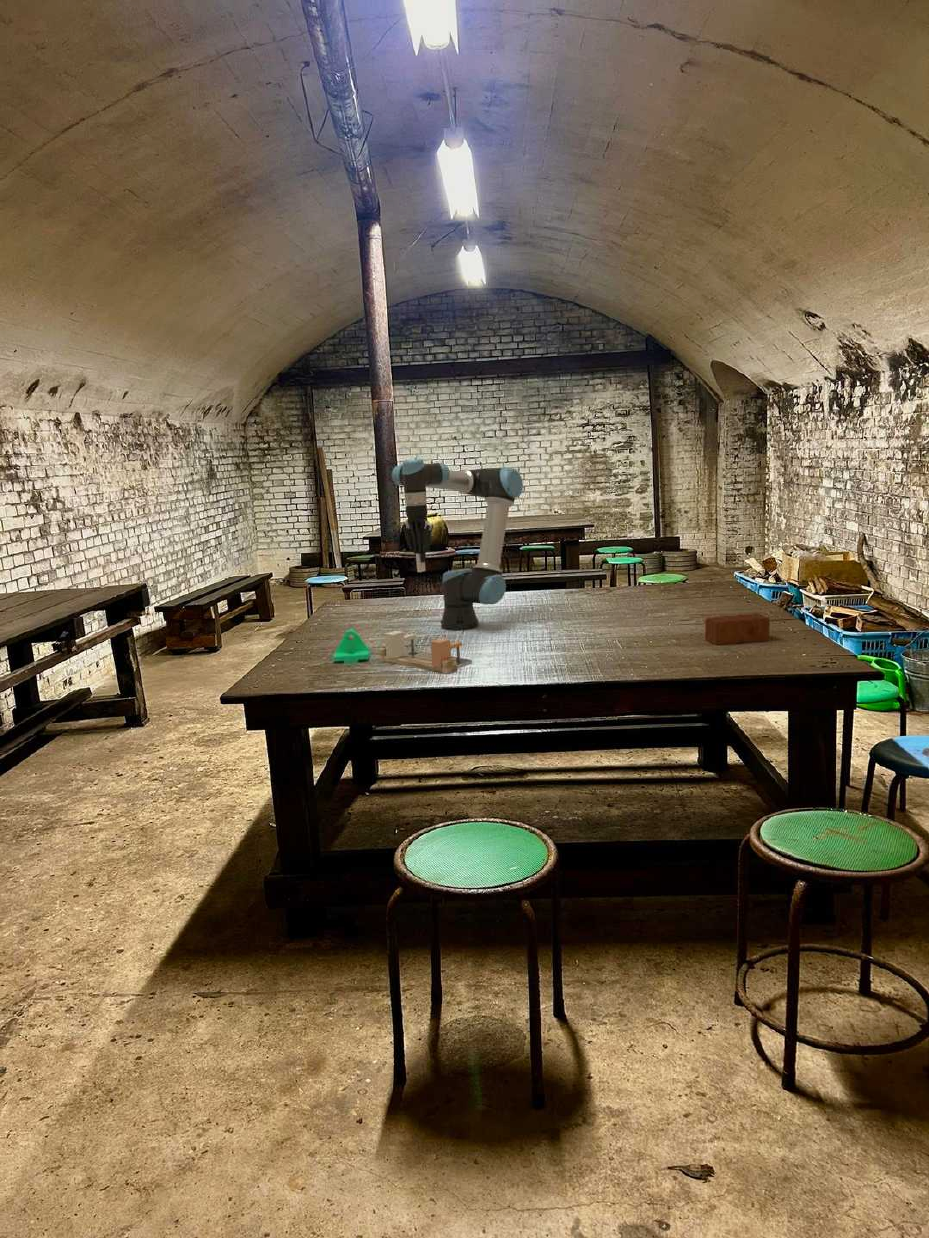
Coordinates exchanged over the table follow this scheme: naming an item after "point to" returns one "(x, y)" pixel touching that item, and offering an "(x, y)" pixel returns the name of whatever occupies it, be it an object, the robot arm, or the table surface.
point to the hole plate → (427, 657)
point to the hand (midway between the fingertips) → (421, 571)
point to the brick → (737, 629)
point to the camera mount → (351, 648)
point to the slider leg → (443, 651)
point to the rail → (420, 663)
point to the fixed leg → (397, 643)
